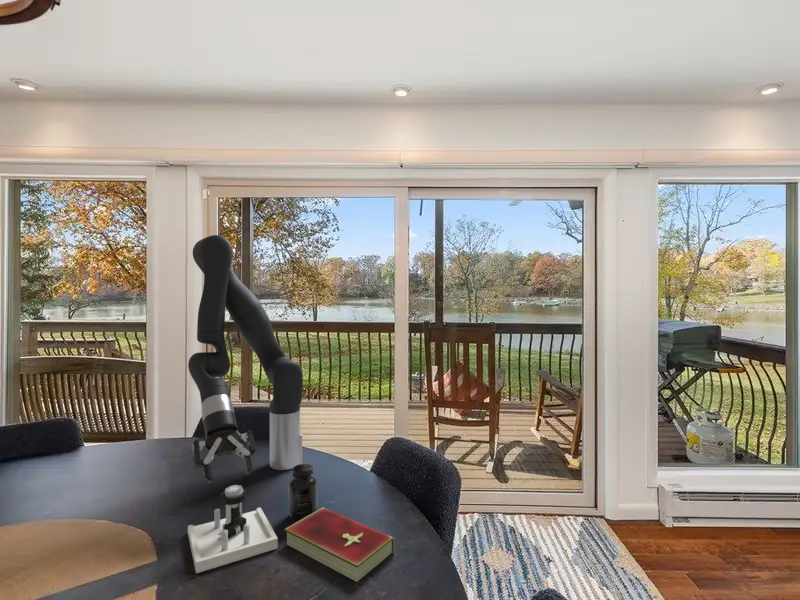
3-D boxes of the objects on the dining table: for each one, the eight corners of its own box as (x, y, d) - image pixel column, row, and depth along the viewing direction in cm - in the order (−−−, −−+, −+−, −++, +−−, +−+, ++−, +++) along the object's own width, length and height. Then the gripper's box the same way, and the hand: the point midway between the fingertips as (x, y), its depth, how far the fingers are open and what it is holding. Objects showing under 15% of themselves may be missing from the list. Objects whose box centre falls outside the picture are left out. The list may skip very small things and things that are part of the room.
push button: (226, 545, 92) (226, 499, 92) (210, 537, 95) (210, 492, 94) (251, 530, 98) (251, 486, 97) (236, 523, 101) (236, 481, 100)
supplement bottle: (322, 511, 109) (322, 464, 108) (307, 525, 102) (308, 475, 102) (298, 506, 111) (298, 460, 110) (283, 520, 104) (282, 471, 104)
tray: (259, 514, 107) (259, 493, 107) (277, 548, 93) (277, 524, 93) (187, 533, 99) (187, 510, 98) (196, 573, 85) (195, 547, 85)
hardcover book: (324, 522, 104) (324, 505, 104) (394, 554, 92) (394, 535, 92) (284, 546, 95) (284, 527, 95) (357, 586, 82) (357, 564, 82)
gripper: (189, 413, 105) (198, 477, 96) (250, 404, 113) (263, 463, 104) (187, 429, 110) (195, 491, 101) (244, 419, 118) (257, 476, 109)
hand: (229, 477), depth 102 cm, fingers open, 8 cm apart
